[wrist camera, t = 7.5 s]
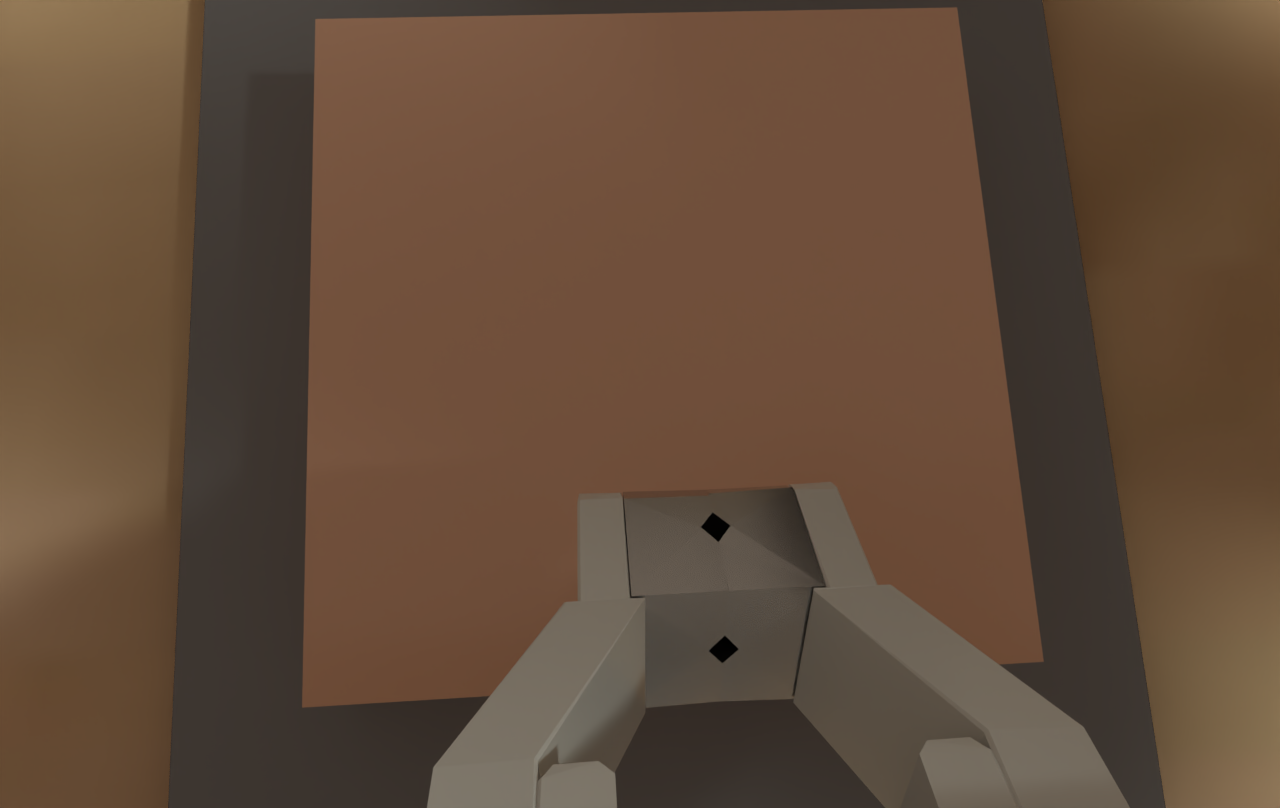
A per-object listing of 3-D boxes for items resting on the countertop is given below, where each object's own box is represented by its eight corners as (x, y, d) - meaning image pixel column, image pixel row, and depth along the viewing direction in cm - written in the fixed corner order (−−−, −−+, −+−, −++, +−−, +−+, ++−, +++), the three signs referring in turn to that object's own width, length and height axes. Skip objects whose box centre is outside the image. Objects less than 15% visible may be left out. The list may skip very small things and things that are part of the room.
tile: (986, 646, 15) (916, 68, 17) (1043, 661, 13) (956, 7, 15) (342, 685, 15) (349, 81, 17) (302, 708, 13) (315, 18, 15)
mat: (1018, -49, 19) (1031, -69, 18) (1158, 891, 15) (1180, 906, 15) (221, -37, 18) (207, -58, 17) (178, 967, 14) (160, 986, 14)
